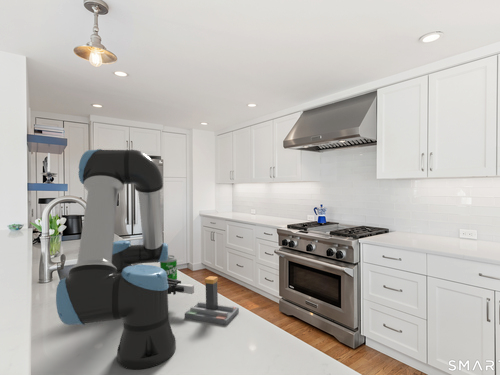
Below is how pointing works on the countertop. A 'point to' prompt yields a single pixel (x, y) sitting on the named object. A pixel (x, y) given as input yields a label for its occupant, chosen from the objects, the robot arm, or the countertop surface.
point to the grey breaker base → (212, 313)
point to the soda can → (170, 267)
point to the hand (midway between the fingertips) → (192, 289)
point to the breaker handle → (211, 293)
